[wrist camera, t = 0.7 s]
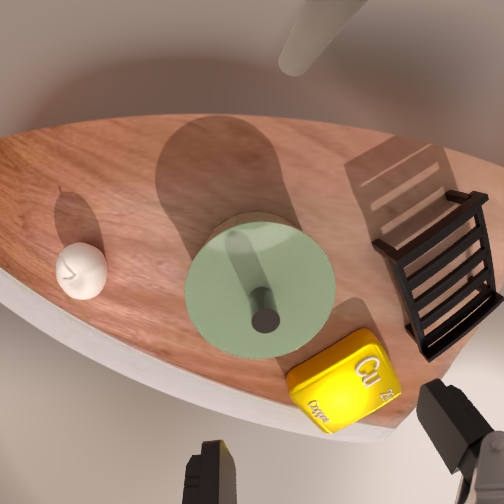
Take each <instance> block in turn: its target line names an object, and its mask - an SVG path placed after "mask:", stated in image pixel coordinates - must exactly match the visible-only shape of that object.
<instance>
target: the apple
mask: <svg viewBox="0 0 504 504" xmlns="http://www.w3.org/2000/svg"><path fill="white" fill-rule="evenodd" d="M56 277H57V281H58V283H59V284H60V286H61V287H62V288H63V290H64V291H65V292H66V293H67V294H68V295H69V296H70V297H72V298H75V299H81V300H86V299H90V298H92V297H94V296H96V295H97V294H98V293H99V292H100V291H101V290H102V289H103V287H104V285H105V282H106V278H107V263H106V259H105V257H104V255H103V253H102V252H101V251H100V250H99V249H97V248H96V247H94V246H92V245H89V244H86V243H73V244H70V245H68V246H66V247H65V248H64V249H63V250H62V251H61V253H60V255H59V256H58V259H57V262H56Z"/></svg>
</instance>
